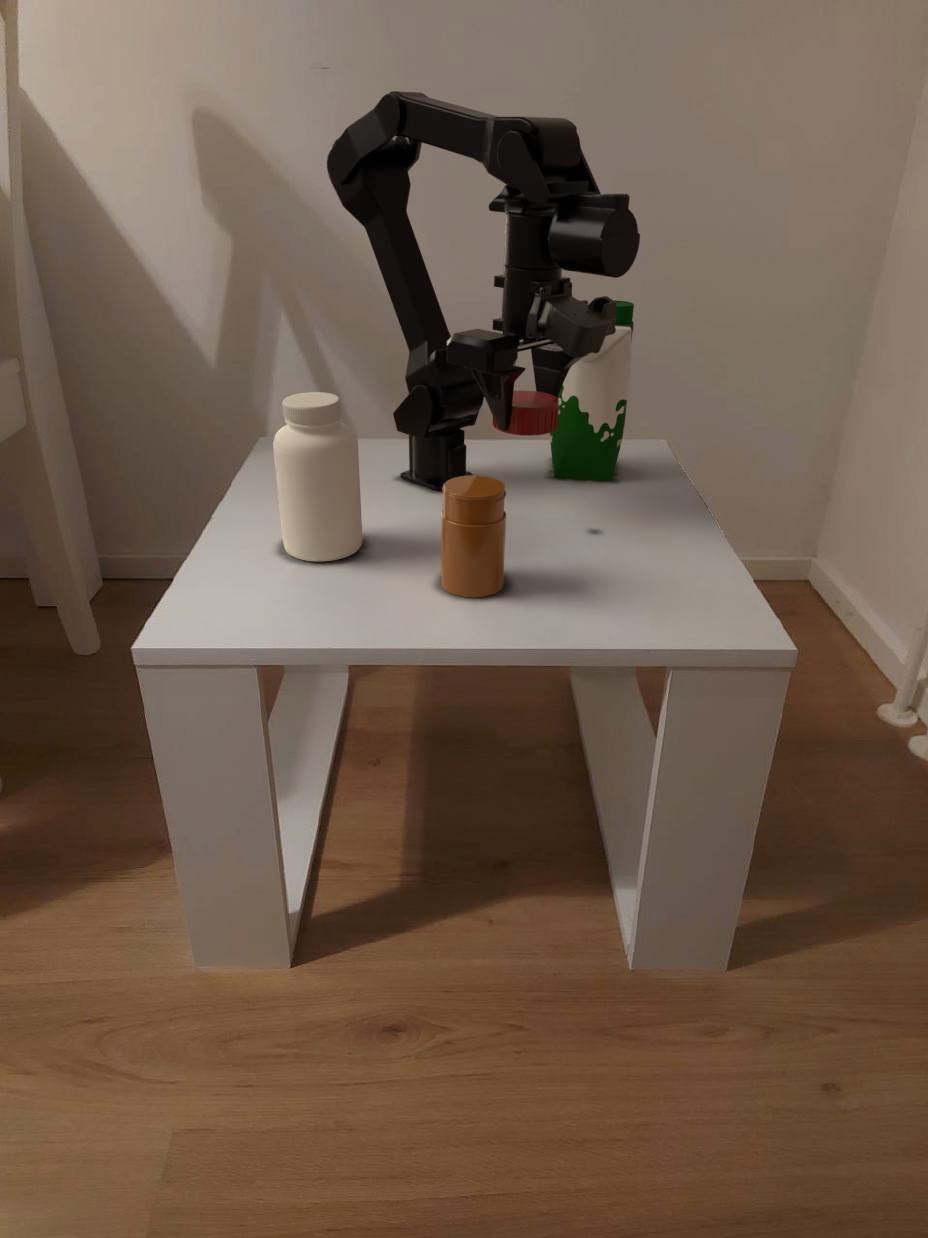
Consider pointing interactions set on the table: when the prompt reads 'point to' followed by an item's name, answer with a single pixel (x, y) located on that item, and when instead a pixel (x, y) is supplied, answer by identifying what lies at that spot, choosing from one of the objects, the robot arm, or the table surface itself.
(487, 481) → the jar
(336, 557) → the pill bottle
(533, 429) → the lid
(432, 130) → the robot arm
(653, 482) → the table surface
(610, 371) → the soya milk
